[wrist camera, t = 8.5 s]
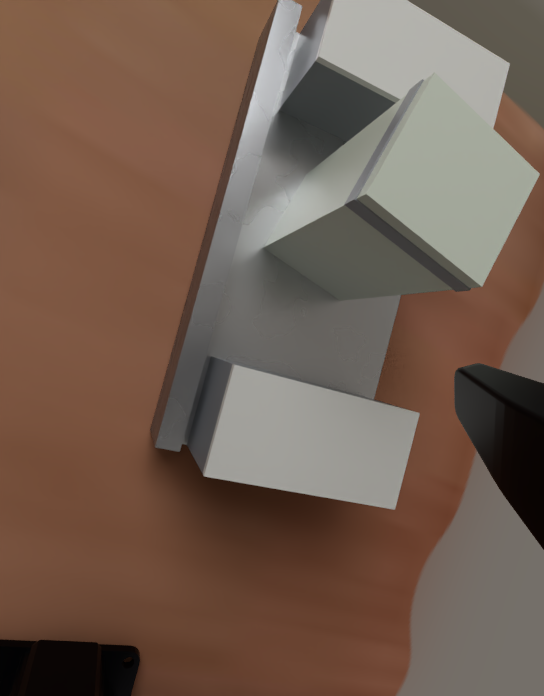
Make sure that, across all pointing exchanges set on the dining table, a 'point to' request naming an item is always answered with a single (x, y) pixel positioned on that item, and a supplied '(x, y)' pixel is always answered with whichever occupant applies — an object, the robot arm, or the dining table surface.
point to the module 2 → (299, 436)
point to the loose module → (407, 202)
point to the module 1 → (382, 64)
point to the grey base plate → (267, 262)
